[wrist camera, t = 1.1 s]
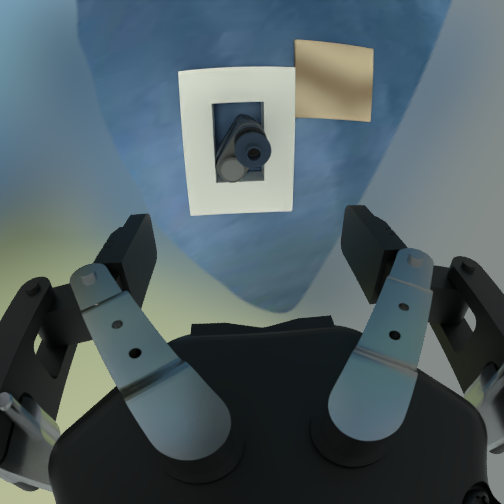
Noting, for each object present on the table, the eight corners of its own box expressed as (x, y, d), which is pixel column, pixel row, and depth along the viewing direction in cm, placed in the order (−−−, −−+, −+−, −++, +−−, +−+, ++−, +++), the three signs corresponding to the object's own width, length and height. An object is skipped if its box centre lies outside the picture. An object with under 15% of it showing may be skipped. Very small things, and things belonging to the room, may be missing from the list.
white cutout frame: (183, 72, 25) (178, 71, 22) (289, 68, 25) (295, 67, 22) (193, 203, 32) (190, 215, 30) (287, 199, 33) (292, 211, 30)
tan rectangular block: (294, 40, 23) (295, 39, 23) (370, 49, 24) (373, 49, 23) (294, 116, 28) (295, 117, 27) (368, 121, 28) (370, 122, 28)
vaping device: (263, 121, 28) (283, 148, 18) (235, 164, 30) (238, 215, 20) (240, 108, 27) (246, 126, 17) (213, 152, 29) (203, 197, 19)
